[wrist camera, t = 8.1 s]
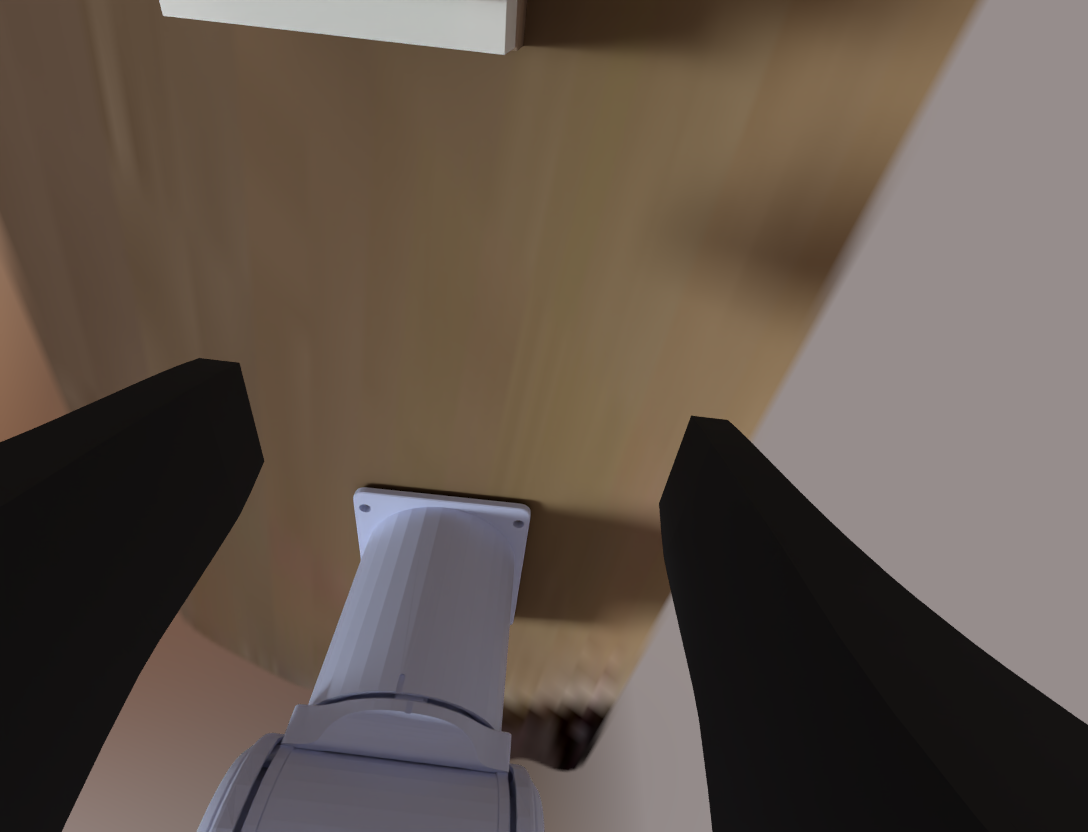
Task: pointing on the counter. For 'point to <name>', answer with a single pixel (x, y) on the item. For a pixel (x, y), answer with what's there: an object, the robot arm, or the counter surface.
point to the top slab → (371, 19)
